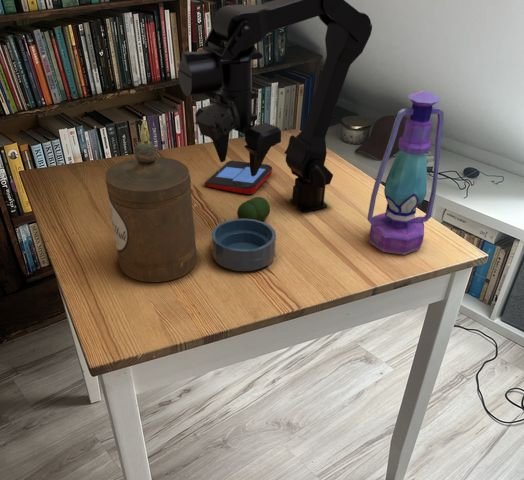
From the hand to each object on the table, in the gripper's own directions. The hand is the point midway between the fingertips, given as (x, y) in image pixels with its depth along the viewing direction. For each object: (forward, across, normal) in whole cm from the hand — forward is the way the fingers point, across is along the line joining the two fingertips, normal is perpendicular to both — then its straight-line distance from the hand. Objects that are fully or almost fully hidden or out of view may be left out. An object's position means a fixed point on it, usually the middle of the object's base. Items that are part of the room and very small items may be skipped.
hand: (237, 168), depth 114 cm
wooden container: (+12, +1, -22) cm, 25 cm away
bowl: (+12, +10, -8) cm, 18 cm away
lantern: (+13, +28, +18) cm, 36 cm away
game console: (+13, -16, +15) cm, 25 cm away
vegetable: (+12, -16, -12) cm, 23 cm away
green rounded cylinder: (+12, +2, +3) cm, 13 cm away
